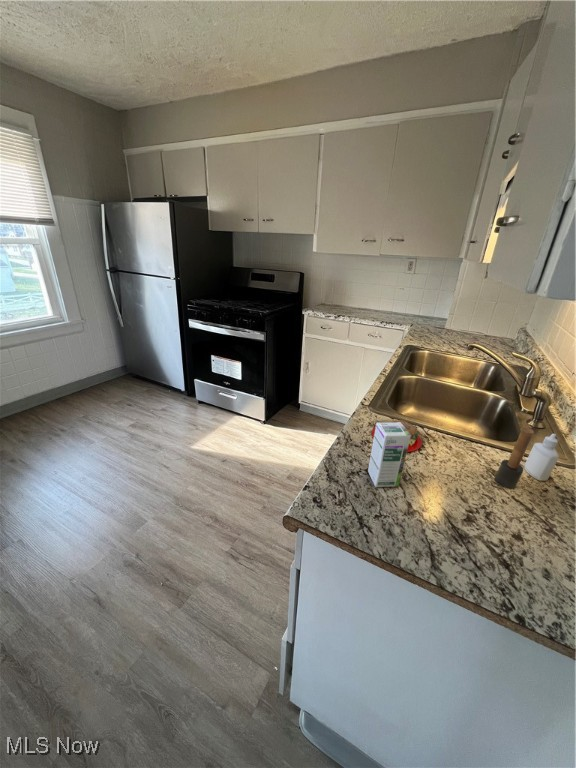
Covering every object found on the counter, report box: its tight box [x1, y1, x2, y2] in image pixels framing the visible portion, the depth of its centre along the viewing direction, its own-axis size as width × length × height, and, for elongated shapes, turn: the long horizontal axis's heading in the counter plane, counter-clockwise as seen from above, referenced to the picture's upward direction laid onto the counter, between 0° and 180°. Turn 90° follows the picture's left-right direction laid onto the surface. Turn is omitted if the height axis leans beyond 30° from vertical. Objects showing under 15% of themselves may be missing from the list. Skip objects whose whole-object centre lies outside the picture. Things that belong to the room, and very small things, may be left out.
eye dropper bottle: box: [523, 433, 560, 482], centre depth 77 cm, size 4×6×12 cm
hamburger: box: [371, 419, 423, 453], centre depth 90 cm, size 14×14×6 cm
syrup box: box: [367, 422, 410, 488], centre depth 72 cm, size 6×6×14 cm
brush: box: [494, 427, 535, 489], centre depth 73 cm, size 4×4×15 cm
